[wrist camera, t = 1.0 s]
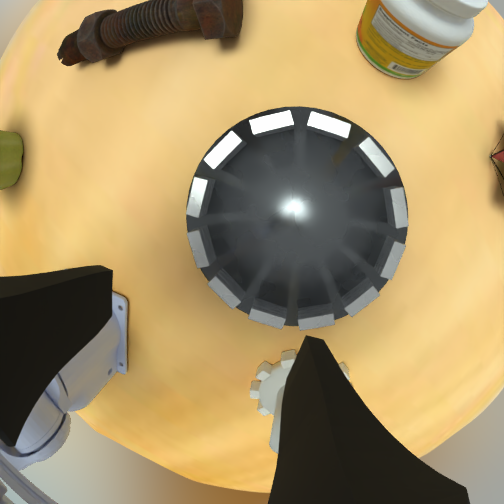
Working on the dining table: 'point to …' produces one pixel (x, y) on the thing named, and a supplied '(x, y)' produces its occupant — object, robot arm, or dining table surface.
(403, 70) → the supplement bottle
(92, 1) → the dining table surface
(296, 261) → the carrier
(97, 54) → the bolt
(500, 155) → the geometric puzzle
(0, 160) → the plant pot
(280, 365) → the planet gear
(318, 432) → the robot arm
